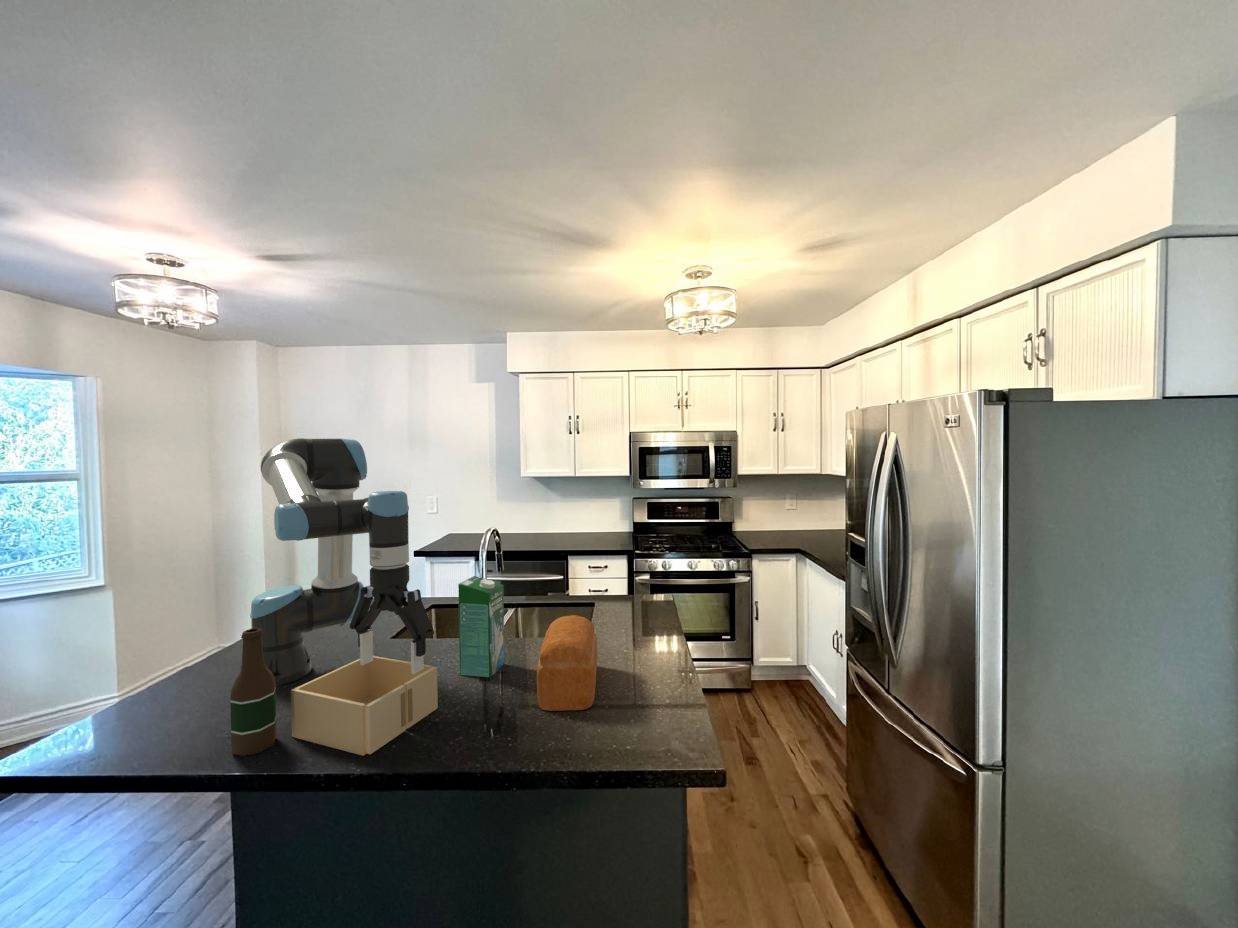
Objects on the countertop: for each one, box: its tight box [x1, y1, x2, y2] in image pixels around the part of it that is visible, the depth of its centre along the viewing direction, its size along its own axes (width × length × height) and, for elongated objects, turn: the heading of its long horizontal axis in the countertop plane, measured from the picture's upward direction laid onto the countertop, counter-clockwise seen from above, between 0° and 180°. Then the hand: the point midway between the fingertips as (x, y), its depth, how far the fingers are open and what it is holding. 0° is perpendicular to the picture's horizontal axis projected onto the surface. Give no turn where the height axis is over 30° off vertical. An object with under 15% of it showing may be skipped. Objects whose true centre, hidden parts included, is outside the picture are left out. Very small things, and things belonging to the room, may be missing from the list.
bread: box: [536, 614, 598, 712], centre depth 130 cm, size 14×26×16 cm, turn 1°
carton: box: [290, 655, 434, 756], centre depth 113 cm, size 20×20×10 cm
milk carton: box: [457, 575, 505, 678], centre depth 140 cm, size 9×9×25 cm
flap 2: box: [403, 666, 439, 730], centre depth 114 cm, size 1×9×10 cm, turn 159°
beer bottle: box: [229, 628, 278, 757], centre depth 104 cm, size 8×8×24 cm
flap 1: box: [366, 685, 407, 755], centre depth 104 cm, size 1×9×10 cm, turn 160°
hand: (391, 666), depth 106 cm, fingers open, 13 cm apart
